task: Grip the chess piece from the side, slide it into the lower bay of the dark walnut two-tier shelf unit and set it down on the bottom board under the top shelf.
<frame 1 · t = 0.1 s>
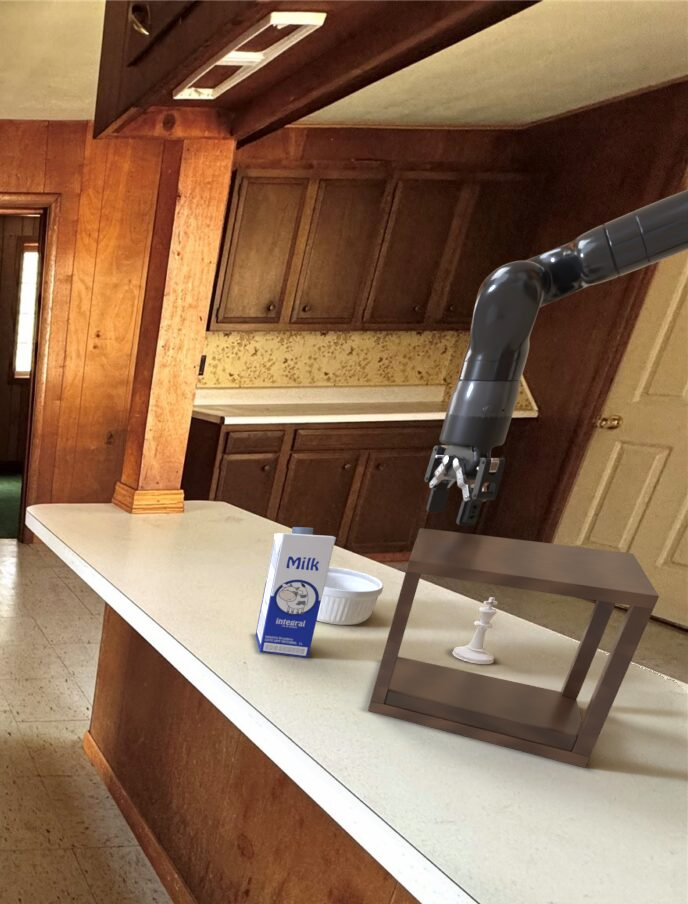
hand: (449, 518, 104), 20 cm above the countertop, tool pointing down, fingers open, 8 cm apart
milk carton: (280, 647, 108), on the countertop
ramekin: (329, 614, 120), on the countertop
chess piece: (472, 658, 103), on the countertop
rack: (469, 707, 89), on the countertop
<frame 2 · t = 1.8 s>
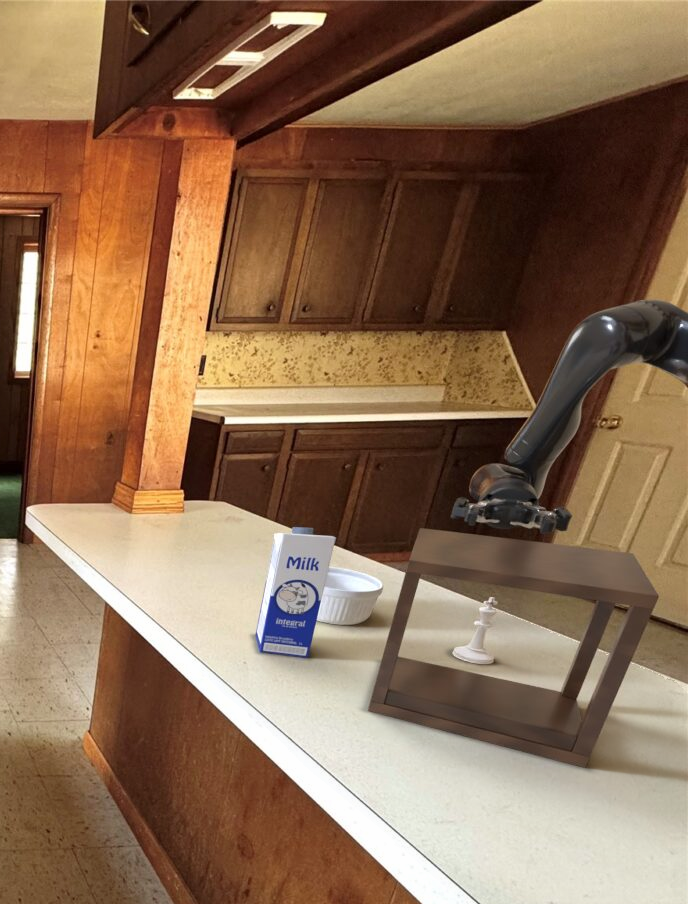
hand: (509, 523, 104), 19 cm above the countertop, tool horizontal, fingers open, 8 cm apart
nothing on the countertop moved.
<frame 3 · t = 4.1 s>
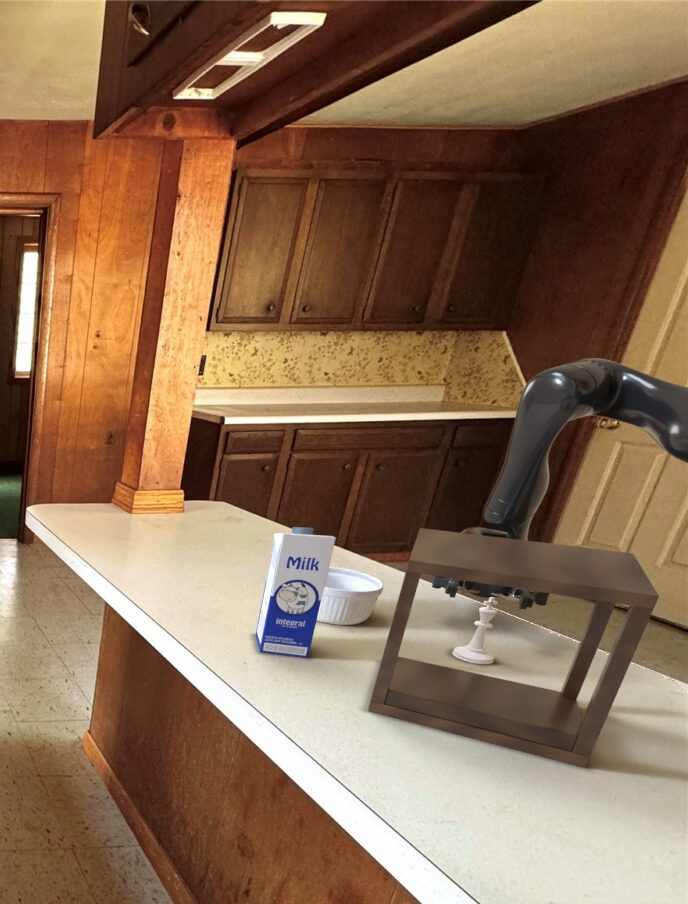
hand: (488, 597, 104), 8 cm above the countertop, tool horizontal, fingers open, 8 cm apart
nothing on the countertop moved.
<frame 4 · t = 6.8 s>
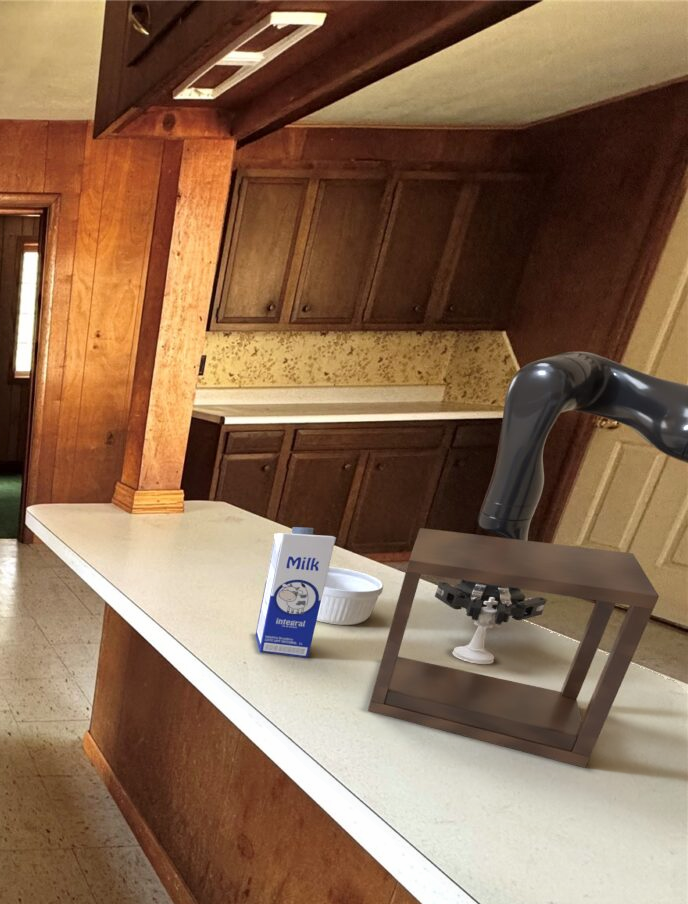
hand: (488, 616, 98), 8 cm above the countertop, tool horizontal, fingers closed on chess piece
chess piece: (472, 658, 103), on the countertop, touching gripper
everything else where it was.
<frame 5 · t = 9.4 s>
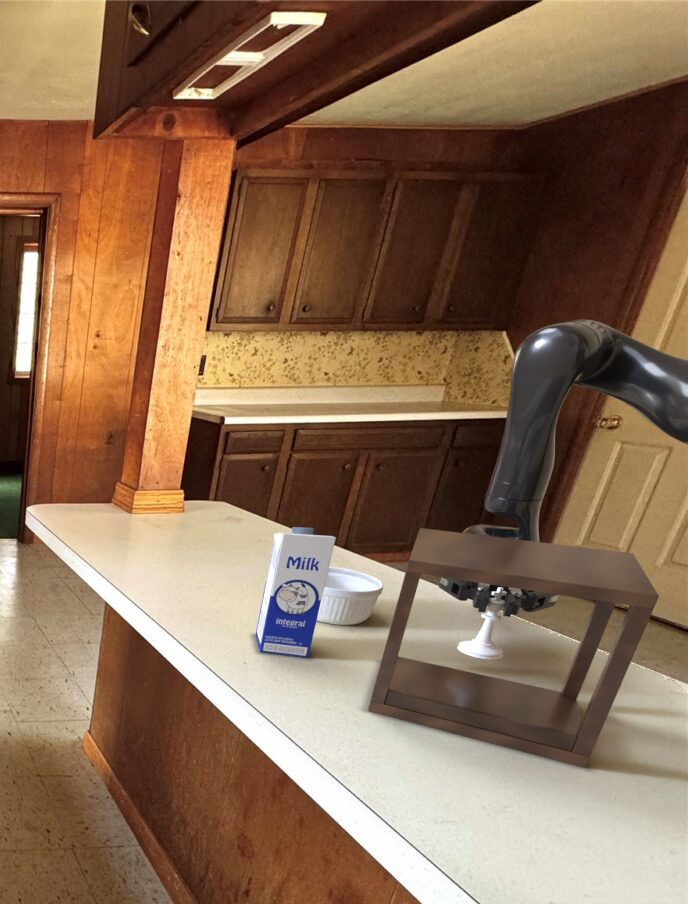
hand: (496, 607, 90), 12 cm above the countertop, tool horizontal, fingers closed on chess piece
chess piece: (478, 653, 95), point 4 cm above the countertop, touching gripper
everything else where it was.
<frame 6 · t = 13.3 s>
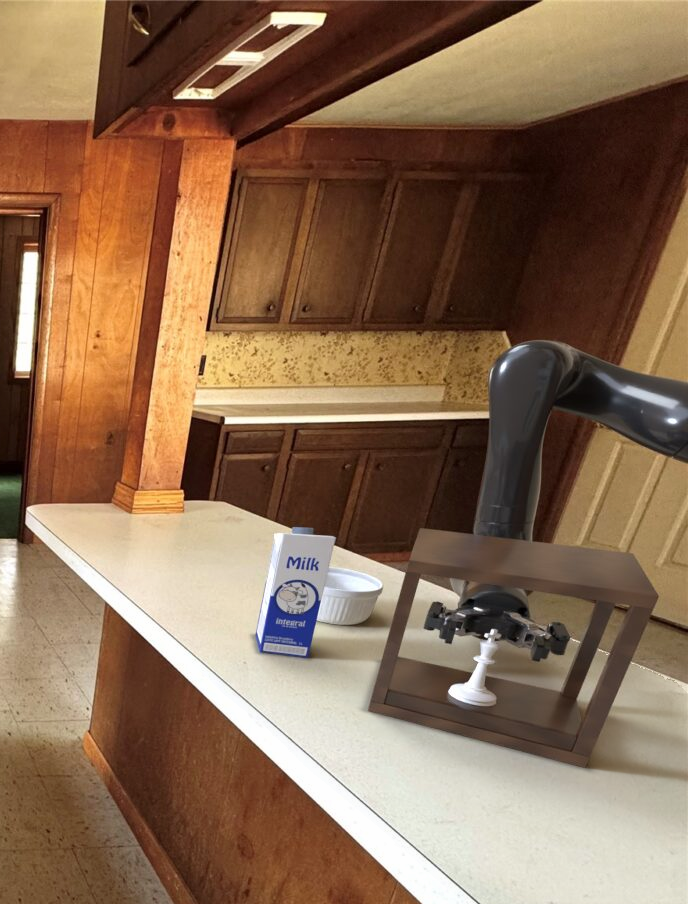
hand: (493, 645, 84), 10 cm above the countertop, tool horizontal, fingers open, 8 cm apart
chess piece: (471, 698, 89), point 1 cm above the countertop, touching rack
everything else where it was.
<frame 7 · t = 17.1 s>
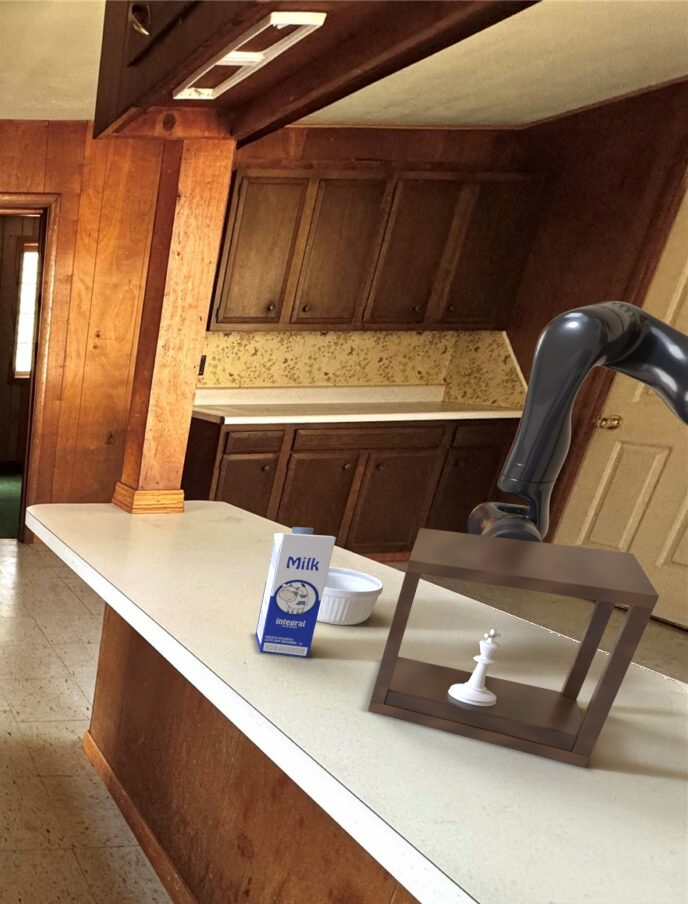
hand: (512, 573, 93), 15 cm above the countertop, tool horizontal, fingers open, 8 cm apart
nothing on the countertop moved.
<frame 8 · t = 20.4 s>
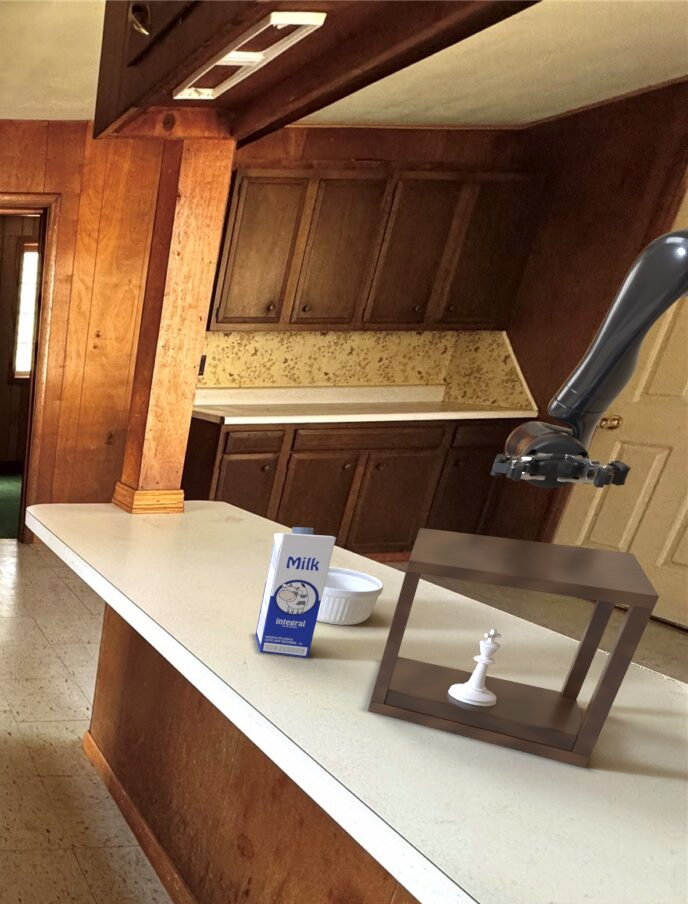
hand: (559, 477, 93), 28 cm above the countertop, tool horizontal, fingers open, 8 cm apart
nothing on the countertop moved.
at the end: chess piece inside the target area on the rack (0.4 cm from its centre), point 1.3 cm above the rack's base; chess piece tilted 0°; the gripper is holding nothing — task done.
